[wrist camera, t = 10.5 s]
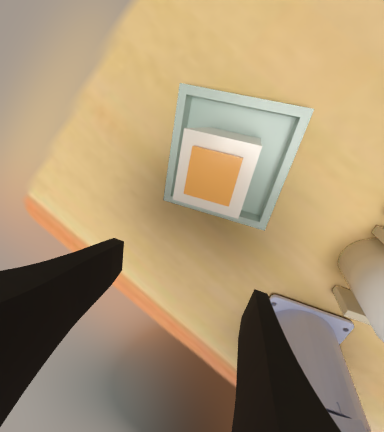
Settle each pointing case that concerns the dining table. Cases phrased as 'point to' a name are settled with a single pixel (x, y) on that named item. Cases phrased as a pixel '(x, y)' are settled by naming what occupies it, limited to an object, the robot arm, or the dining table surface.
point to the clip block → (347, 297)
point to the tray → (248, 125)
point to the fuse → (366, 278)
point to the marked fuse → (216, 169)
